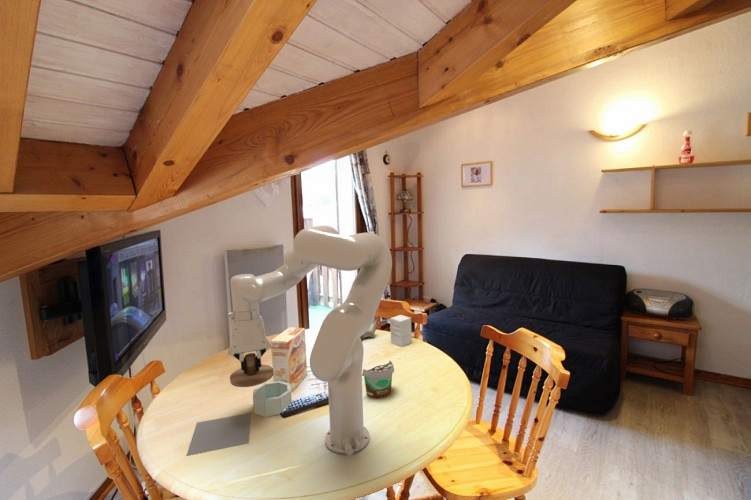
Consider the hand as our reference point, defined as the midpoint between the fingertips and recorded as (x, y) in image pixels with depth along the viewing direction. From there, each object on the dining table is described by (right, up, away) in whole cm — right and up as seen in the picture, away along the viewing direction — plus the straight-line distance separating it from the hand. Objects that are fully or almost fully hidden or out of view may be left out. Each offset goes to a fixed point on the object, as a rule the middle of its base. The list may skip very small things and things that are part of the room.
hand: (251, 370), depth 114 cm
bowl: (+5, -15, +7) cm, 17 cm away
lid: (0, -2, 0) cm, 2 cm away
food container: (+42, -13, +13) cm, 45 cm away
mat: (-7, -17, -6) cm, 19 cm away
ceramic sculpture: (+32, -7, +68) cm, 76 cm away
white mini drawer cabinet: (+51, -7, +60) cm, 79 cm away
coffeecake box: (+7, -13, +24) cm, 28 cm away
